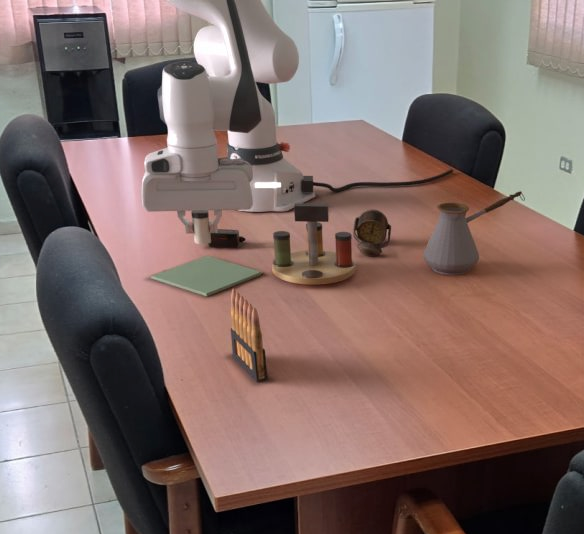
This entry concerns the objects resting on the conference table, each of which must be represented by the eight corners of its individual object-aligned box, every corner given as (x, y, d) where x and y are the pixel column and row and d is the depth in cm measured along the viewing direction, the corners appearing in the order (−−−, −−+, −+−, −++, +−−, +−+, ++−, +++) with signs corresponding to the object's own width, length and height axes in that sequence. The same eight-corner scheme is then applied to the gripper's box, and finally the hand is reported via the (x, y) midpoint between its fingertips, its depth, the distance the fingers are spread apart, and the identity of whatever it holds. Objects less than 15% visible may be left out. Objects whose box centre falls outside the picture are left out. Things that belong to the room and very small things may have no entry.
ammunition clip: (232, 356, 156) (225, 287, 150) (243, 354, 157) (237, 285, 151) (256, 382, 148) (250, 310, 142) (267, 379, 149) (262, 308, 143)
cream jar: (190, 241, 182) (187, 211, 179) (204, 238, 184) (201, 208, 181) (200, 245, 181) (197, 215, 177) (214, 242, 183) (211, 211, 180)
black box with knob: (241, 249, 200) (240, 234, 199) (207, 247, 200) (206, 232, 199) (246, 242, 204) (244, 227, 203) (213, 240, 204) (211, 225, 203)
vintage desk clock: (406, 217, 206) (366, 201, 207) (383, 228, 195) (340, 211, 196) (398, 248, 209) (358, 232, 211) (375, 261, 198) (333, 244, 200)
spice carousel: (255, 269, 188) (250, 203, 181) (317, 250, 199) (314, 188, 192) (310, 291, 179) (307, 223, 172) (372, 270, 190) (371, 205, 183)
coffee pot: (434, 281, 189) (436, 206, 181) (415, 262, 198) (416, 190, 190) (530, 271, 196) (536, 198, 188) (507, 253, 205) (512, 183, 197)
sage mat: (207, 258, 195) (207, 255, 195) (262, 274, 188) (261, 271, 188) (151, 278, 184) (150, 275, 184) (206, 296, 177) (206, 293, 177)
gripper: (251, 154, 179) (256, 226, 186) (138, 155, 175) (148, 228, 182) (251, 162, 174) (257, 236, 181) (135, 163, 170) (146, 239, 177)
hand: (201, 232), depth 181 cm, fingers closed on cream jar, 3 cm apart
